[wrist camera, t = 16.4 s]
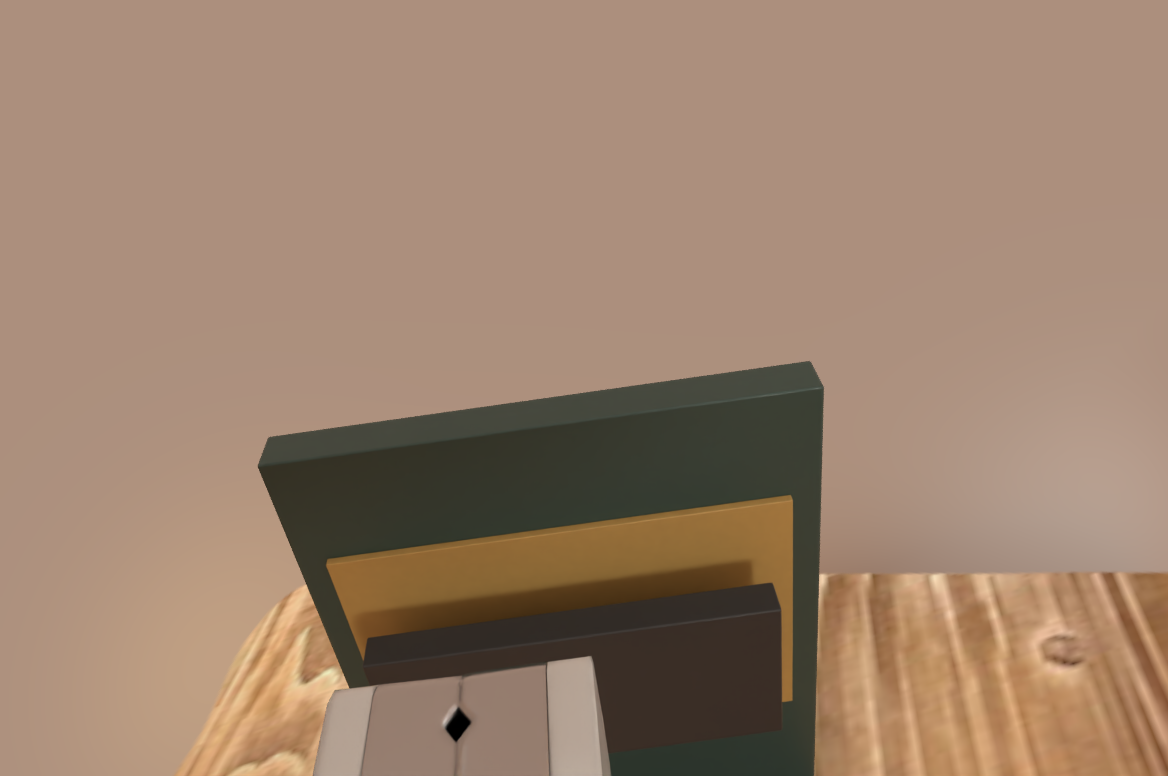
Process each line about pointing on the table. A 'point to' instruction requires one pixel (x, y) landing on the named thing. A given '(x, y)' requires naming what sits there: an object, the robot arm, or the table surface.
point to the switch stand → (573, 524)
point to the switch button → (628, 661)
